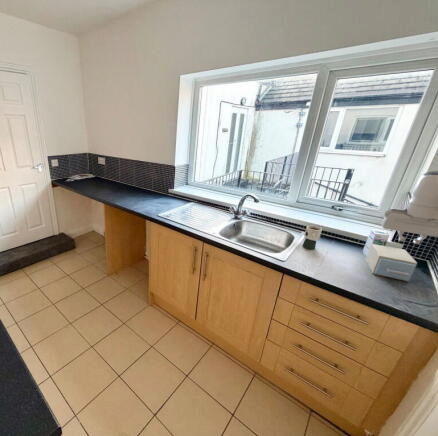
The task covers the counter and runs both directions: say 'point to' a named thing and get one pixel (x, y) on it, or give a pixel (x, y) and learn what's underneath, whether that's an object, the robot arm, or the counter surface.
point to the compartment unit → (387, 256)
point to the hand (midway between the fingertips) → (408, 242)
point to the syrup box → (375, 239)
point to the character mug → (311, 237)
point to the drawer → (395, 269)
